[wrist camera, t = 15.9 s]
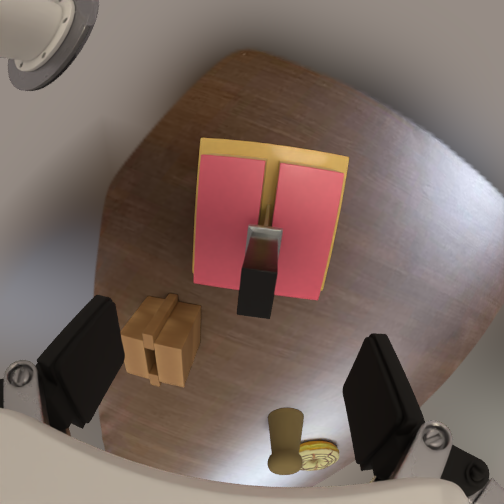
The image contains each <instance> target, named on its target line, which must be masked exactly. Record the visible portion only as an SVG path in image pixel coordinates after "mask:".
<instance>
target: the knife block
mask: <svg viewBox="0 0 504 504" xmlns="http://www.w3.org/2000/svg"><path fill="white" fill-rule="evenodd" d="M120 333H121V338H122V343H123V347H124V352H125V360H124V363H125V367H126V371H127V373H131V374H134V375H137V376H141V377H144V378H148V379H149V378H150V383H151V385H155V386H159V387H160V385H161V383H162V382H163V383H167V384H172V385H176V386H180V387H184V386H185V383H186V380H187V377H188V375H189V372H190V369H191V366H192V364H193V361H194V358H195V356H196V353H197V350H198V347H199V345H200V341H201V306H200V305H194V304H188V303H183V302H178V295H176V294H171V293H169V294H168V296H167V297H166V299H161V298H156V297H151V296H147V298H146V299H145V300H144V301H143V303H142V304H141V305H140V307H139V308H138V309H137V310H136V312H135V313H134V314H133V316H132V317H131V318H130V320H129V321H128V322H127V324H126V325H125V326H124V328H123V329H122V330H121V332H120Z"/></svg>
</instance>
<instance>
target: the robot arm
mask: <svg viewBox="0 0 504 504" xmlns="http://www.w3.org/2000/svg"><path fill="white" fill-rule="evenodd" d="M74 14H75V5H74V2H73V0H0V58H8V59H14V61H15V64H16V67H17V68H18V69H19V70H21V71H26V72H29V71H34V70H36V69H38V68H39V67H41V66H42V65H44V64H45V63H46V62H47V61H48V60H49V59H50V58H51V57H52V56H53V55H54V53H55V52H56V51H57V50H58V48H59V47H60V45H61V44H62V43H63V41H64V39H65V37H66V36H67V34H68V32H69V30H70V27H71V25H72V22H73V19H74ZM124 360H125V352H124V347H123V343H122V338H121V333H120V328H119V323H118V317H117V311H116V306H115V303H114V302H112V300H111V298H109V297H105V296H101V295H96V296H94V298H93V299H92V300H91V301H90V302H89V303H88V304H87V305H86V306H85V307H84V308H83V309H82V310H81V311H80V312H79V313H78V314H77V315H76V316H75V318H74V319H73V320H72V321H71V322H70V323H69V324H68V325H67V326H66V327H65V328H64V329H63V330H62V332H61V333H60V334H59V335H58V336H57V337H56V338H55V339H54V341H53V342H52V343H51V344H50V345H49V346H48V347H47V349H46V350H45V351H44V352H43V353H42V354H41V356H40V357H39V358H38V359H37V362H38V363H37V364H36V366H35V365H34V364H33V363H31V362H30V361H26V360H20V361H16V362H14V363H12V364H11V365H10V366H9V367H8V368H7V369H6V371H5V374H4V379H0V504H504V489H503V488H502V487H501V486H500V485H499V484H498V483H497V482H496V481H495V480H494V479H493V478H492V479H491V480H489V469H488V467H487V465H486V464H485V462H483V461H482V460H481V459H478V458H477V457H475V456H473V455H471V454H469V453H467V452H465V451H463V450H461V449H459V448H458V447H456V446H454V445H452V443H453V436H452V433H451V431H450V429H449V428H448V427H447V426H446V425H445V424H443V423H442V422H439V421H428V422H425V421H424V418H423V415H422V412H421V410H420V407H419V405H418V402H417V400H416V398H415V395H414V393H413V391H412V388H411V386H410V384H409V381H408V379H407V377H406V375H405V372H404V370H403V368H402V366H401V364H400V361H399V359H398V357H397V355H396V353H395V351H394V349H393V347H392V345H391V343H390V340H389V338H388V336H387V335H386V334H371V335H370V336H369V337H366V338H365V339H364V342H363V344H362V346H361V349H360V351H359V353H358V355H357V358H356V360H355V362H354V364H353V367H352V369H351V371H350V373H349V375H348V377H347V379H346V381H345V383H344V386H343V397H344V401H345V406H346V411H347V416H348V421H349V427H350V432H351V437H352V443H353V448H354V454H355V460H356V463H357V464H360V467H361V471H363V470H371V469H373V473H374V477H373V478H372V480H371V482H369V483H363V484H353V485H343V486H328V487H265V486H251V485H241V484H232V483H225V482H218V481H211V480H206V479H200V478H195V477H190V476H185V475H181V474H176V473H172V472H168V471H164V470H160V469H157V468H153V467H150V466H146V465H143V464H140V463H137V462H134V461H131V460H128V459H125V458H122V457H119V456H116V455H114V454H111V453H108V452H106V451H103V450H101V449H98V448H96V447H93V446H91V445H89V444H87V443H84V442H82V441H79V440H77V439H75V438H73V437H71V435H70V431H69V426H70V424H71V423H72V424H74V425H76V426H78V427H80V428H83V427H84V425H85V423H89V422H90V421H91V419H92V417H93V416H94V414H95V412H96V410H97V408H98V406H99V405H100V403H101V401H102V399H103V397H104V396H105V394H106V392H107V390H108V388H109V387H110V385H111V383H112V381H113V380H114V378H115V376H116V374H117V373H118V371H119V369H120V368H121V366H122V364H123V362H124Z"/></svg>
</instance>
